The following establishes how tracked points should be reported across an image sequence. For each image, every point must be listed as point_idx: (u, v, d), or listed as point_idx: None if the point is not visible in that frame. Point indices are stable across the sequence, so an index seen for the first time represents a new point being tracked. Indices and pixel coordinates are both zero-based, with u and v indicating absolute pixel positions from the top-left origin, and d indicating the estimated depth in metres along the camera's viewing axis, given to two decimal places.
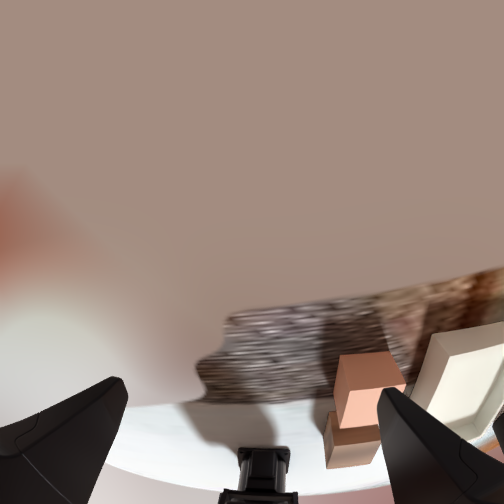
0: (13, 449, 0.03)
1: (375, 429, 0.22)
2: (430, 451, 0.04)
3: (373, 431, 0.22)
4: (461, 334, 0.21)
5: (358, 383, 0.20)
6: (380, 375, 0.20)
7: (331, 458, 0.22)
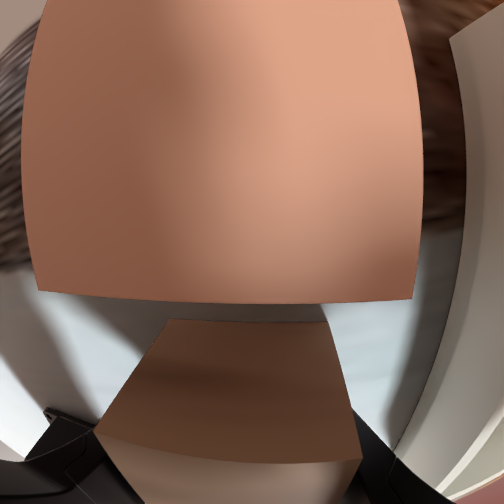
0: (65, 481, 0.03)
1: (331, 403, 0.05)
2: None
3: (318, 408, 0.05)
4: None
5: None
6: None
7: (136, 488, 0.05)
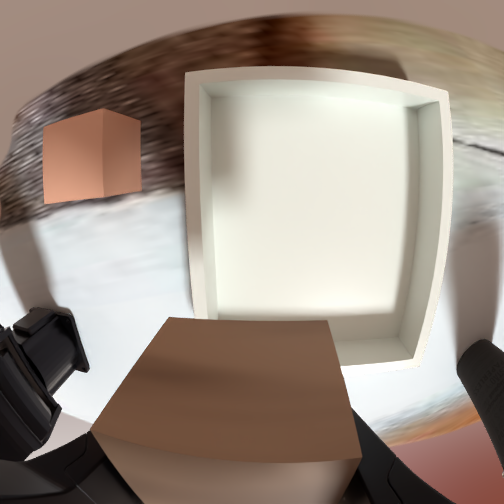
0: (65, 481, 0.03)
1: (330, 401, 0.05)
2: None
3: (317, 407, 0.05)
4: None
5: None
6: None
7: (134, 487, 0.05)
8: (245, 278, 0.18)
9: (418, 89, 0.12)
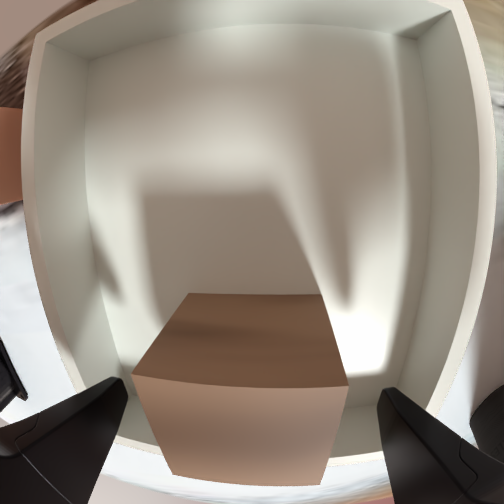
0: (13, 449, 0.03)
1: (323, 348, 0.07)
2: (430, 451, 0.04)
3: (313, 352, 0.07)
4: None
5: None
6: None
7: (159, 437, 0.06)
8: (143, 321, 0.11)
9: None
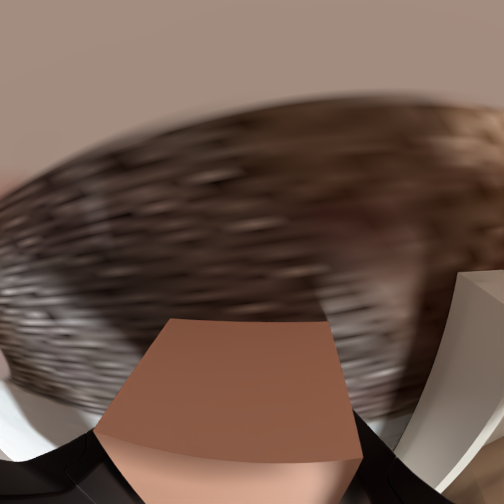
0: (65, 481, 0.03)
1: None
2: None
3: None
4: None
5: (144, 414, 0.05)
6: (256, 402, 0.05)
7: None
8: None
9: None
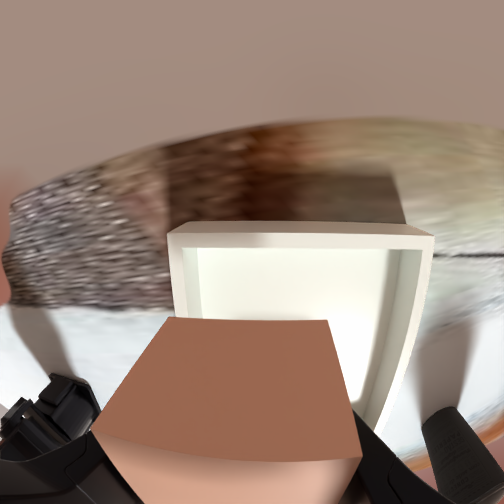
0: (65, 481, 0.03)
1: None
2: None
3: None
4: (236, 223, 0.17)
5: (142, 412, 0.05)
6: (254, 401, 0.05)
7: None
8: None
9: (402, 242, 0.14)
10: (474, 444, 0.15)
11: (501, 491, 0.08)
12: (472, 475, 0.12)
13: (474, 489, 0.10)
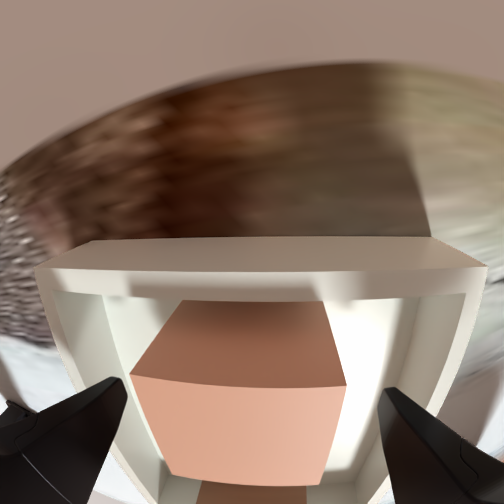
0: (13, 449, 0.03)
1: (297, 493, 0.09)
2: (431, 451, 0.04)
3: (291, 495, 0.09)
4: (145, 244, 0.10)
5: (172, 359, 0.07)
6: (262, 348, 0.07)
7: None
8: None
9: (432, 283, 0.07)
10: None
11: None
12: None
13: None
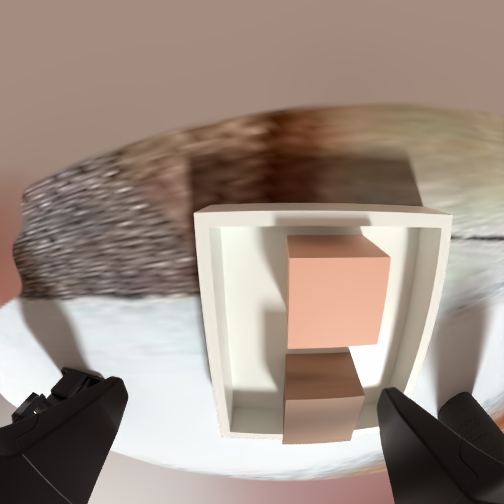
0: (12, 449, 0.03)
1: (354, 381, 0.16)
2: (430, 451, 0.04)
3: (350, 382, 0.16)
4: (260, 204, 0.18)
5: (306, 253, 0.14)
6: (346, 249, 0.14)
7: (286, 424, 0.16)
8: (255, 367, 0.21)
9: (422, 220, 0.14)
10: (490, 428, 0.15)
11: None
12: None
13: None
